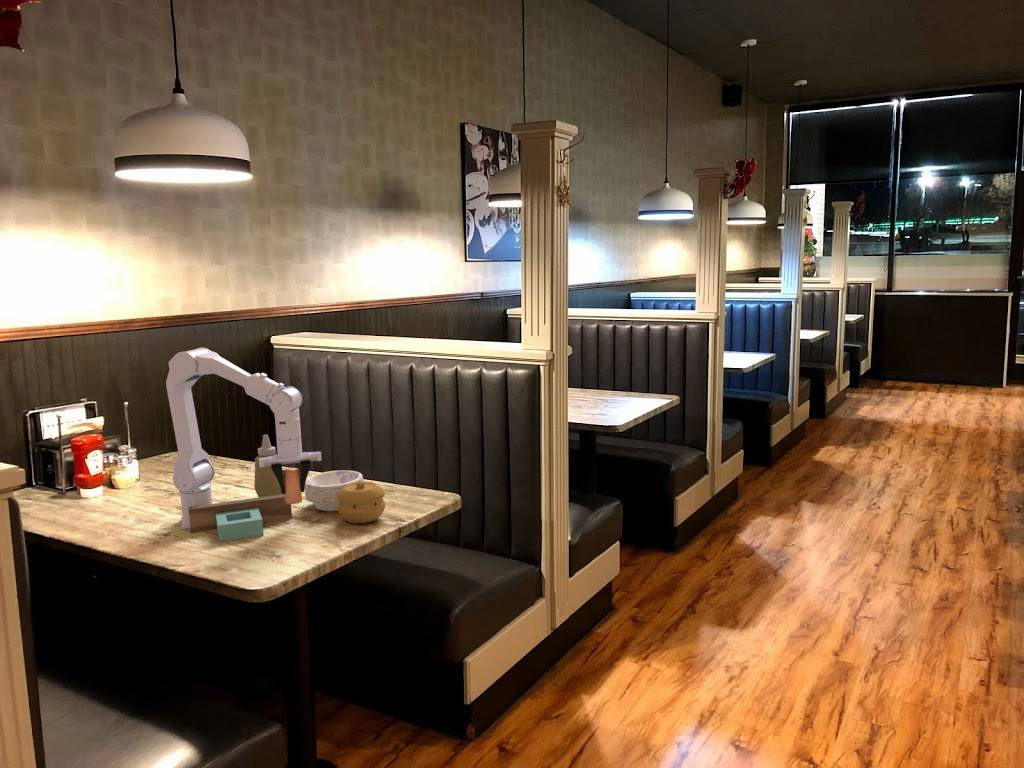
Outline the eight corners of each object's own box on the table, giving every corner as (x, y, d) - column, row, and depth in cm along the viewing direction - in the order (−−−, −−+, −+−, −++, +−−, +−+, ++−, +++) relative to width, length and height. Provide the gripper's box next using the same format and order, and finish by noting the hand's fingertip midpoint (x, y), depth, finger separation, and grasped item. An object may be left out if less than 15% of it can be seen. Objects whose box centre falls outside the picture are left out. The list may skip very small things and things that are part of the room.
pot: (365, 510, 217) (362, 472, 216) (396, 518, 210) (394, 479, 208) (329, 522, 209) (326, 483, 207) (360, 531, 201) (357, 491, 200)
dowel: (283, 501, 206) (281, 469, 205) (300, 498, 208) (297, 467, 207) (286, 505, 203) (284, 472, 201) (303, 502, 204) (301, 470, 203)
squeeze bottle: (249, 503, 227) (244, 438, 224) (265, 494, 235) (259, 431, 232) (276, 504, 225) (271, 438, 222) (291, 495, 233) (286, 432, 230)
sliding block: (217, 529, 205) (215, 513, 205) (259, 523, 209) (258, 507, 208) (219, 542, 196) (217, 525, 195) (263, 535, 200) (262, 519, 199)
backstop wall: (190, 530, 206) (188, 507, 205) (290, 516, 214) (289, 493, 213) (191, 533, 203) (188, 509, 202) (292, 518, 212) (290, 495, 211)
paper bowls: (293, 511, 218) (291, 481, 217) (331, 495, 232) (329, 467, 230) (339, 518, 211) (337, 488, 210) (376, 501, 225) (374, 472, 223)
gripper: (317, 431, 209) (321, 484, 211) (256, 437, 204) (261, 491, 206) (320, 437, 202) (324, 491, 204) (258, 443, 197) (262, 499, 200)
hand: (292, 492), depth 205 cm, fingers closed on dowel, 4 cm apart
